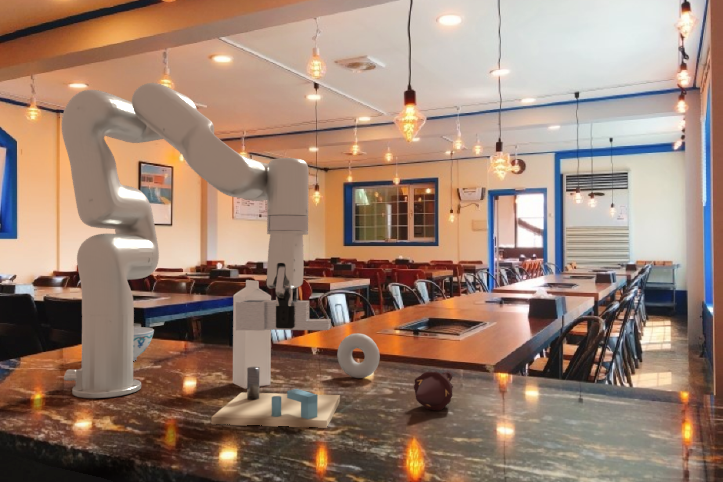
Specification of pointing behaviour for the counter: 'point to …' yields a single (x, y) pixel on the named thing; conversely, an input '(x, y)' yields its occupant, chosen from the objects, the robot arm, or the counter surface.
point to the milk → (251, 341)
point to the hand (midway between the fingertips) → (287, 325)
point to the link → (264, 316)
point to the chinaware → (141, 340)
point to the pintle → (253, 383)
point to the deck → (261, 411)
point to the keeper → (304, 397)
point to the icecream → (434, 389)
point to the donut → (369, 351)
